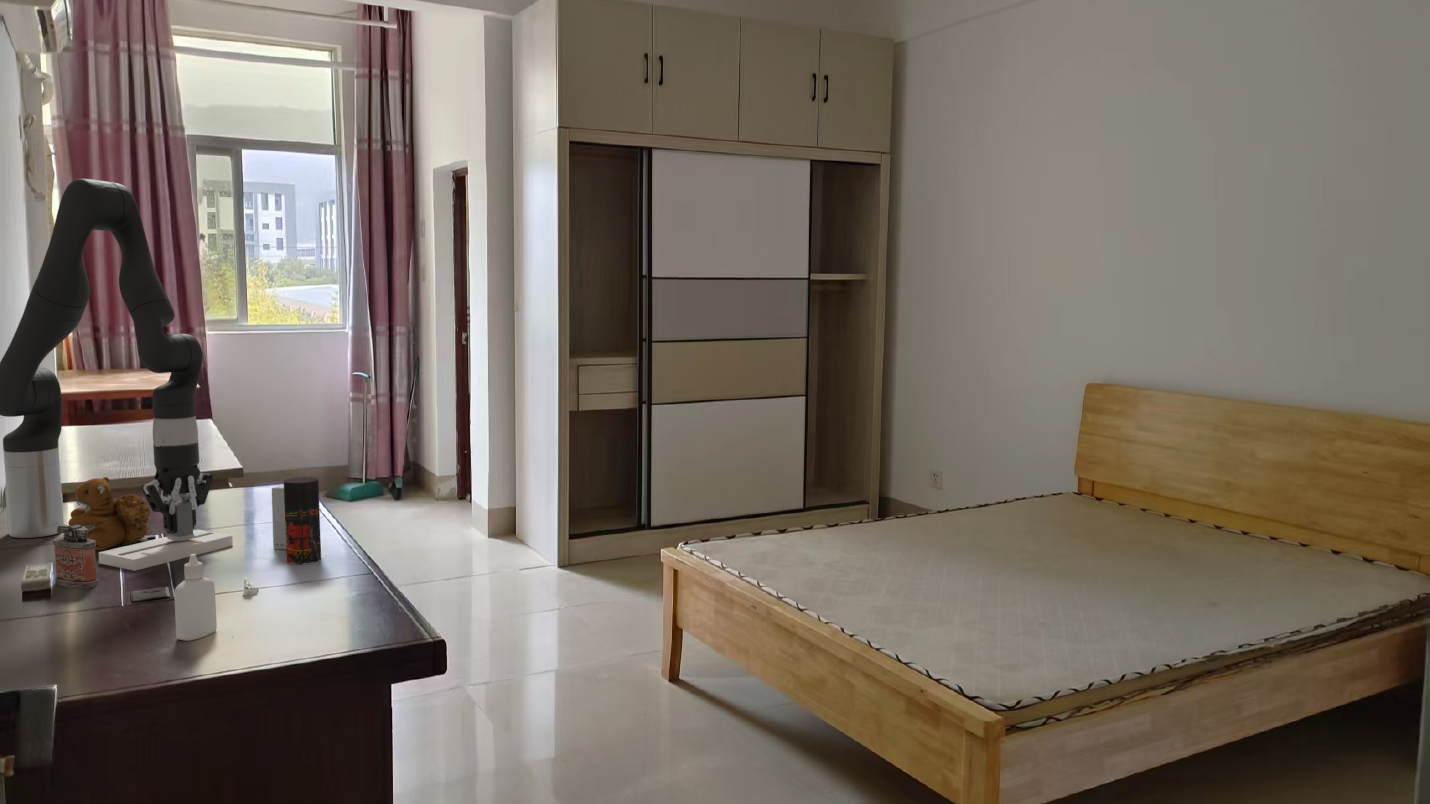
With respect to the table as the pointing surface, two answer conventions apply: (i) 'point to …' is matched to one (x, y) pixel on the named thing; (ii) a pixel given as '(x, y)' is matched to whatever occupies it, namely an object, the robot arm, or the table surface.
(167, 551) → the panel
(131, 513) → the stuffed squirrel
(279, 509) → the skincare box
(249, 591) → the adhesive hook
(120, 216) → the robot arm
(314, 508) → the deodorant
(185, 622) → the eye dropper bottle
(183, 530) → the fader
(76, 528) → the lighter
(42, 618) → the table surface
